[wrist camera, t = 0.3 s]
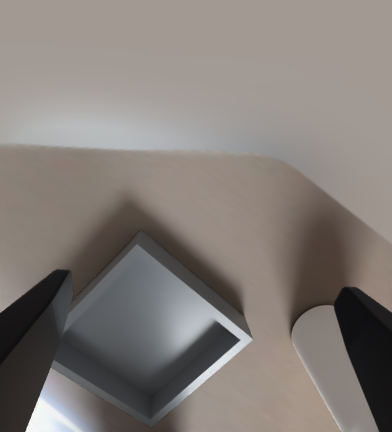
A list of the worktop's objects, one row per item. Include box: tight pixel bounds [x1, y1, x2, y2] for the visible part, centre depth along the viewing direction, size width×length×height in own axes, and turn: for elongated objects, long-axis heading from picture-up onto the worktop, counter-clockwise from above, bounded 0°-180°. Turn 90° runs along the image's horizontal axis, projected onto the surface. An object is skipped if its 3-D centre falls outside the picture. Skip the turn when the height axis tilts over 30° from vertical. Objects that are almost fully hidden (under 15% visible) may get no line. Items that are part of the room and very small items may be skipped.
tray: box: [51, 230, 253, 428], centre depth 27 cm, size 14×14×3 cm
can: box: [291, 305, 379, 432], centre depth 25 cm, size 6×6×12 cm
